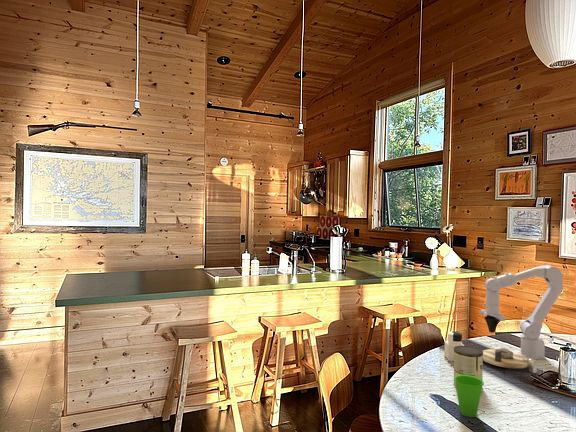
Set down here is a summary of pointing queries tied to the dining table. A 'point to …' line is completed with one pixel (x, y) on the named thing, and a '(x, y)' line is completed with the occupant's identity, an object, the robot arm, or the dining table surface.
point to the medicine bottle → (452, 344)
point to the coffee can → (468, 361)
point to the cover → (505, 353)
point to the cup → (468, 394)
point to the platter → (495, 359)
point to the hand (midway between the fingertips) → (491, 332)
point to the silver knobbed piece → (531, 365)
